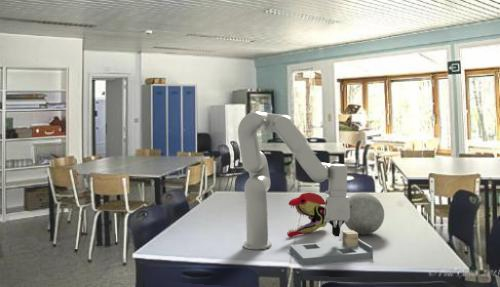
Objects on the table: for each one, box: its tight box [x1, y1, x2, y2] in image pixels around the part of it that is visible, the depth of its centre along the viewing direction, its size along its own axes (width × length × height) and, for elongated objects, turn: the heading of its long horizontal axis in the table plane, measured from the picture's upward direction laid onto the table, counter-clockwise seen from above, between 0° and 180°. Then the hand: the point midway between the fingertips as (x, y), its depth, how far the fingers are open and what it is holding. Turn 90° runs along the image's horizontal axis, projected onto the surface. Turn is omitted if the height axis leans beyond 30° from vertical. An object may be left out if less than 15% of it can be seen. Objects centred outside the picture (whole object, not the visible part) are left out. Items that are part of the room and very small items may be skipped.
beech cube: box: [341, 229, 359, 246], centre depth 179 cm, size 5×5×5 cm
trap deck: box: [289, 238, 374, 265], centre depth 172 cm, size 18×29×4 cm, turn 101°
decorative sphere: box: [344, 192, 385, 235], centre depth 202 cm, size 20×20×20 cm
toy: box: [286, 192, 328, 238], centre depth 206 cm, size 7×27×20 cm, turn 126°
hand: (336, 235), depth 178 cm, fingers closed
